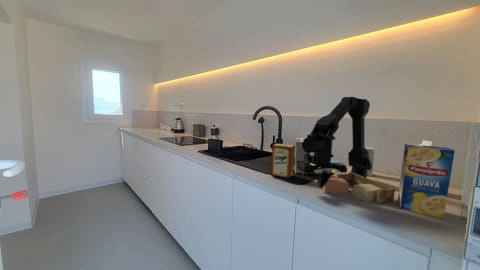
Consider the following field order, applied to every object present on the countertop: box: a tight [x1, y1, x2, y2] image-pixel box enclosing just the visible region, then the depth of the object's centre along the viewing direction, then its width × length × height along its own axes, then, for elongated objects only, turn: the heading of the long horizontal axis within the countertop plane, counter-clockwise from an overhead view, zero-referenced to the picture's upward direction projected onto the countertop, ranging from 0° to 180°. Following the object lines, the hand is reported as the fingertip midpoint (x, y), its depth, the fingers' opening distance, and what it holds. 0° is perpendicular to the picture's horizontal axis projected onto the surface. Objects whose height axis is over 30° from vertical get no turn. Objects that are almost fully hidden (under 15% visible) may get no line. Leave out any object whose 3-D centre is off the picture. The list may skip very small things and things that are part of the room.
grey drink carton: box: [294, 141, 310, 175], centre depth 105 cm, size 9×6×16 cm
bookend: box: [336, 173, 354, 186], centre depth 90 cm, size 8×5×5 cm, turn 101°
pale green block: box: [350, 184, 382, 202], centre depth 76 cm, size 9×7×4 cm
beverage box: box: [396, 143, 456, 219], centre depth 66 cm, size 7×11×22 cm, turn 57°
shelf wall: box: [348, 171, 396, 204], centre depth 81 cm, size 6×21×5 cm, turn 11°
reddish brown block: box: [321, 177, 350, 194], centre depth 82 cm, size 9×6×4 cm, turn 83°
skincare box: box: [365, 146, 375, 177], centre depth 106 cm, size 8×6×15 cm
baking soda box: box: [270, 143, 296, 179], centre depth 98 cm, size 10×6×16 cm
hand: (320, 188), depth 80 cm, fingers closed
